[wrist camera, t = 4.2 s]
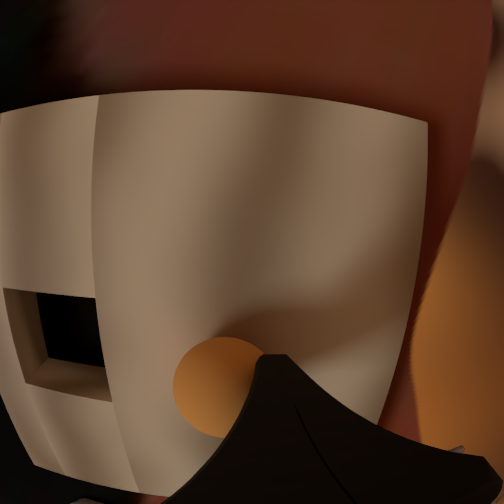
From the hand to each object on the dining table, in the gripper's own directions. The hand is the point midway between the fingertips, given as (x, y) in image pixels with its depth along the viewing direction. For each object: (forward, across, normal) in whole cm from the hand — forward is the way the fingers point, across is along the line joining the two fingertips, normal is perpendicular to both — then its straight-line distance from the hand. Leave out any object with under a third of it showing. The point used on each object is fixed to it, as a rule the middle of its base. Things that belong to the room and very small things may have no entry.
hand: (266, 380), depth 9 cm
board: (+4, +4, 0) cm, 5 cm away
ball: (0, +1, 0) cm, 1 cm away
